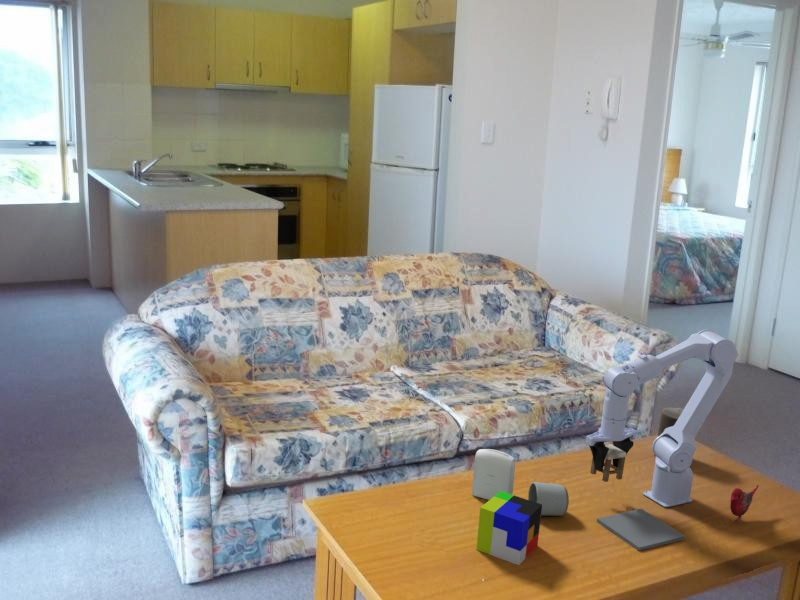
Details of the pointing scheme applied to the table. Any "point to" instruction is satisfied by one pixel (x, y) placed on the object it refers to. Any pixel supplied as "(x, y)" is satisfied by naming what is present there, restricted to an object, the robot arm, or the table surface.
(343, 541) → the table surface
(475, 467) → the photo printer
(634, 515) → the mat
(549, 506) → the ceramic mug
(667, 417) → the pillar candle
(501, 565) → the table surface
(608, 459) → the stool
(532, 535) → the puzzle toy
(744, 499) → the decorative bird figurine
